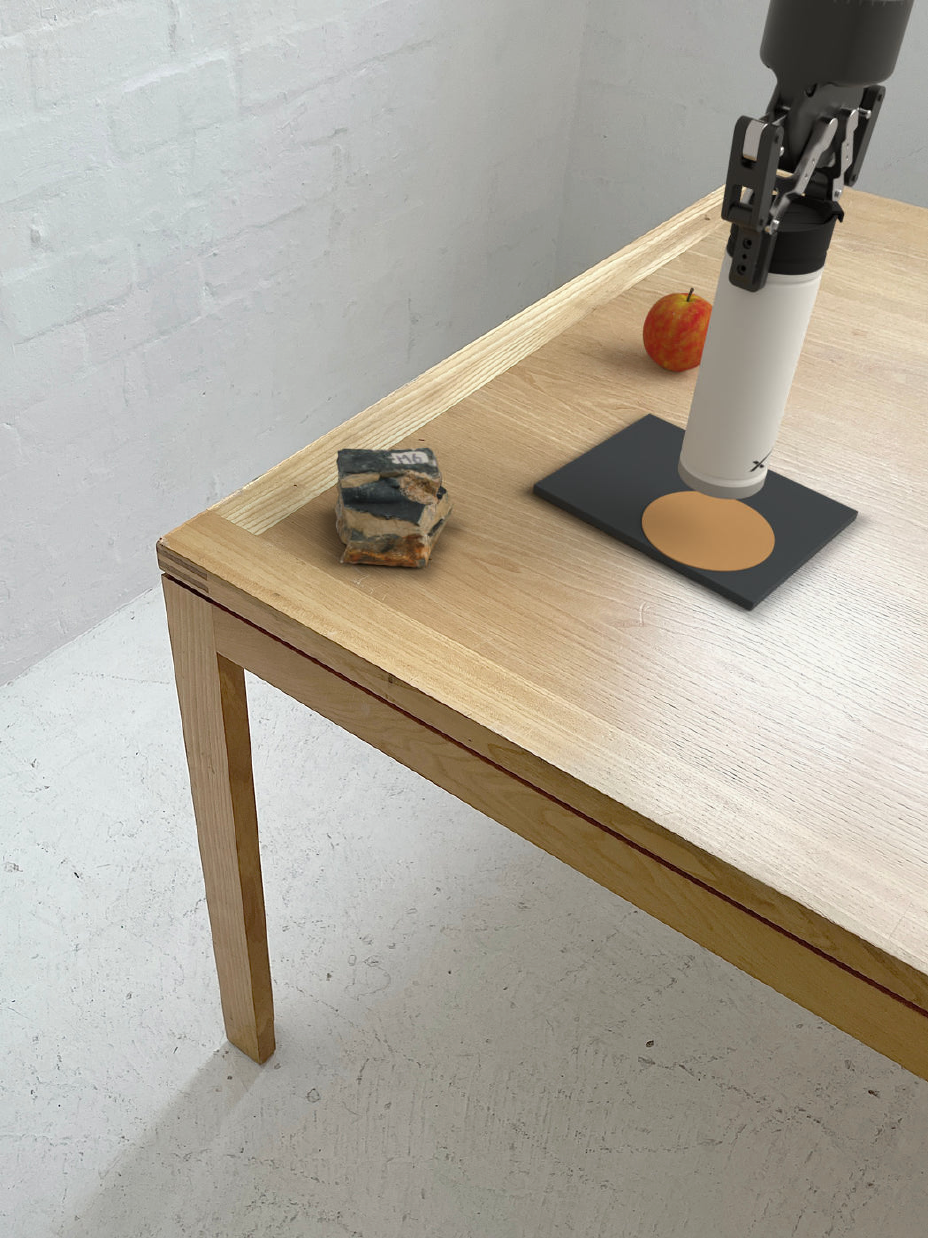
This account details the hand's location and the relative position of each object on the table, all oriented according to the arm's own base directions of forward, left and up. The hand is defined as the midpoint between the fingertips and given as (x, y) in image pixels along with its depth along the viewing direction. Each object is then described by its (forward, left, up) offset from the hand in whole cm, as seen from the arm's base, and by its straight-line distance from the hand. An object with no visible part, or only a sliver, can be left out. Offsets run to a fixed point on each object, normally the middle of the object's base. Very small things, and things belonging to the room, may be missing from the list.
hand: (773, 271), depth 72 cm
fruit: (+17, -21, -22) cm, 35 cm away
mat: (+3, -3, -21) cm, 22 cm away
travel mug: (0, 0, -16) cm, 16 cm away
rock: (+17, +17, -22) cm, 32 cm away
